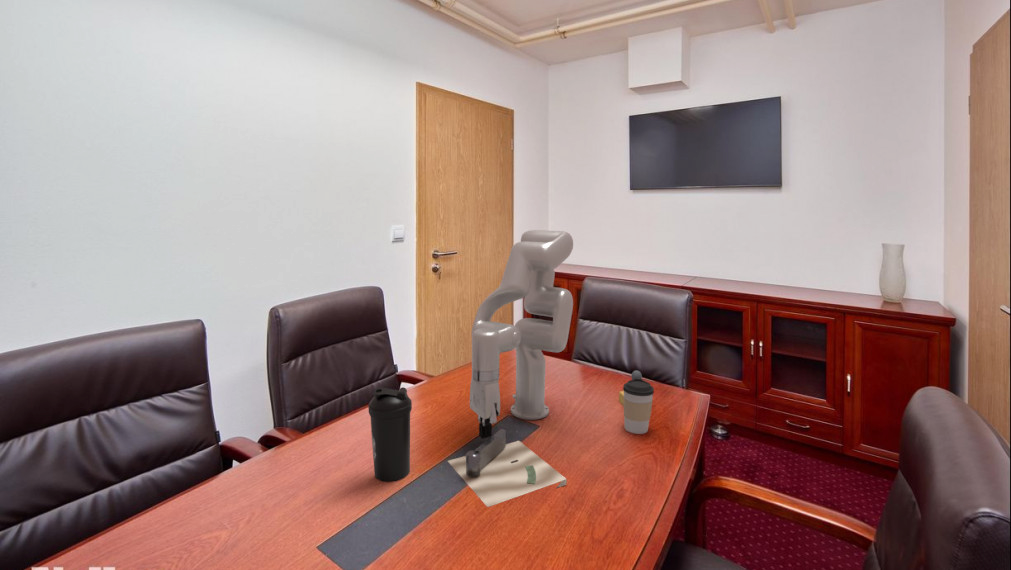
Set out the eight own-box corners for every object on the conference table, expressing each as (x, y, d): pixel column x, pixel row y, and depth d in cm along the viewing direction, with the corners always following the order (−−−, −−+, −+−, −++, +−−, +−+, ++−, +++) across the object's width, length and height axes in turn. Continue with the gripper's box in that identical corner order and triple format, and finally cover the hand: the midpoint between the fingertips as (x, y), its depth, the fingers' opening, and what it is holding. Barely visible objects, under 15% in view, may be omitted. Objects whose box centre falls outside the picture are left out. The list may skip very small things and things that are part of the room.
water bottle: (375, 467, 122) (372, 382, 119) (415, 465, 123) (413, 382, 119) (367, 490, 112) (363, 399, 109) (410, 488, 113) (408, 398, 109)
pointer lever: (475, 478, 114) (475, 459, 113) (463, 474, 116) (463, 455, 115) (509, 448, 129) (509, 431, 128) (497, 444, 130) (497, 427, 130)
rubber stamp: (625, 407, 161) (626, 374, 159) (618, 401, 166) (620, 368, 164) (652, 406, 162) (654, 372, 160) (644, 399, 168) (646, 367, 166)
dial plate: (447, 466, 123) (447, 460, 123) (518, 445, 134) (518, 439, 134) (487, 513, 105) (487, 506, 104) (566, 484, 116) (566, 478, 115)
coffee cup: (652, 437, 140) (656, 389, 137) (621, 434, 142) (624, 386, 139) (649, 423, 149) (652, 378, 146) (620, 420, 150) (622, 376, 148)
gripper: (461, 367, 133) (461, 428, 136) (486, 385, 121) (486, 451, 124) (484, 363, 137) (484, 422, 140) (511, 380, 124) (510, 444, 127)
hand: (485, 436), depth 132 cm, fingers closed
